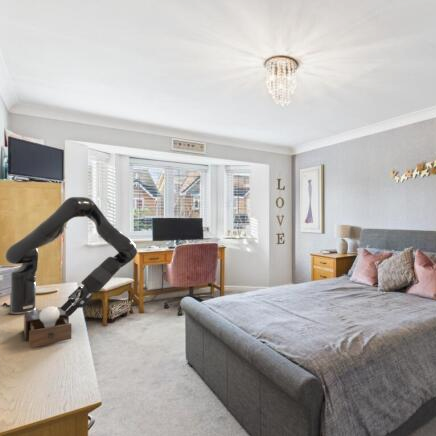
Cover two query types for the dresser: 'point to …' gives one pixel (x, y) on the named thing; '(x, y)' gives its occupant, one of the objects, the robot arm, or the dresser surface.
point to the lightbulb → (49, 316)
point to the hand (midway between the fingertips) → (64, 312)
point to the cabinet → (34, 317)
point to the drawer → (49, 332)
